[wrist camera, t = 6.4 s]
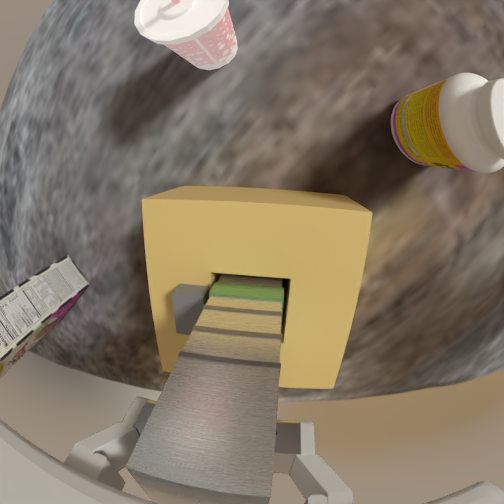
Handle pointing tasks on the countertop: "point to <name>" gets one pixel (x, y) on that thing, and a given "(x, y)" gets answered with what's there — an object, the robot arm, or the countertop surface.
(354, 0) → the countertop surface
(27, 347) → the candy bar box
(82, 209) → the countertop surface
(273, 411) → the column
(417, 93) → the supplement bottle
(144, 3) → the beverage cup
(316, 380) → the housing
